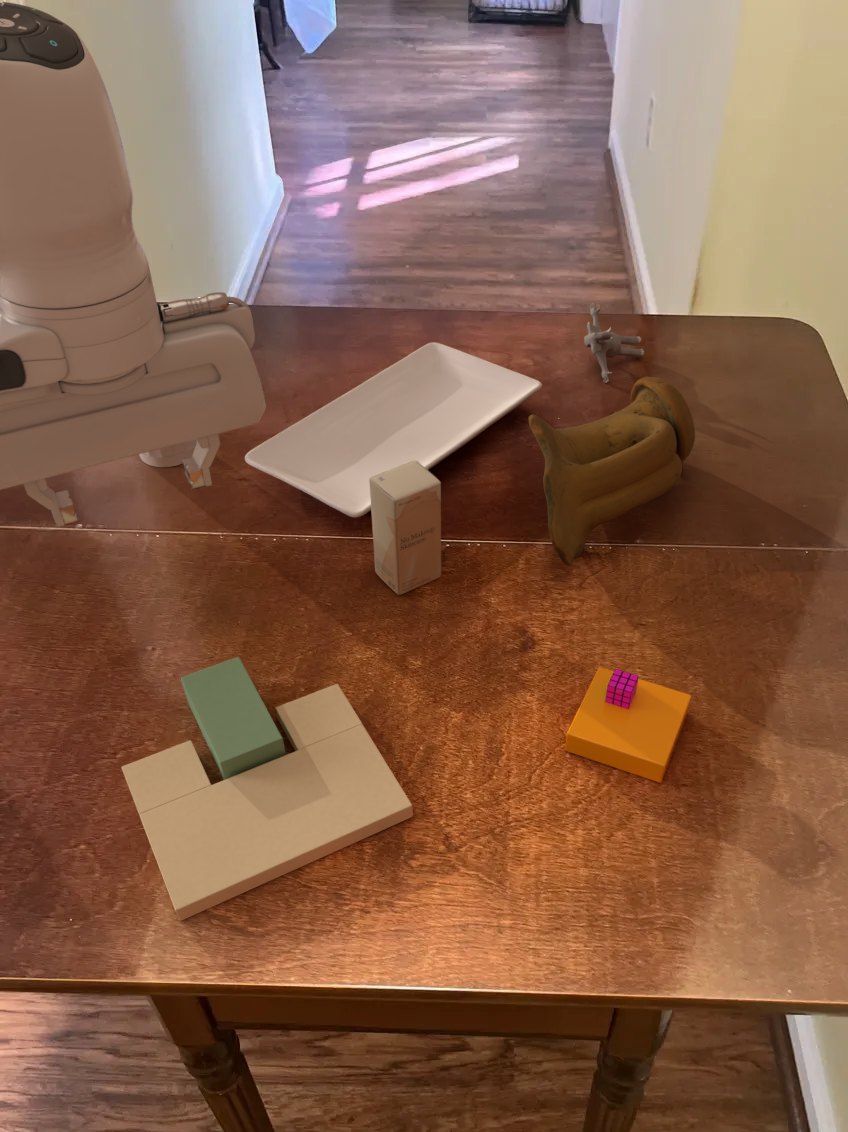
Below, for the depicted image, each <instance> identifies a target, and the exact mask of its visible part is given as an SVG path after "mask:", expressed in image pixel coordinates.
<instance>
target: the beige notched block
mask: <svg viewBox="0 0 848 1132" xmlns="http://www.w3.org/2000/svg"><path fill="white" fill-rule="evenodd" d="M275 713H276V717H277V720H278V722H279V724H280V726H281V728H282V730H283V731H284V734H285V735H286V738H287V739H288V741H289V743H290V745H291V747H292V749H293V750H294V751H293V752H291V753H287V754H286V755H285V756H283V757H280V758H278V759H275V760H273V761H270V762H268V763H265V764H263V765H260V766H258V767H255V768H253V769H251V770H248V771H246V772H243V773H241V774H238V775H236V776H233V777H231V778H228V779H226V780H224V779H223V780H221V781H219V782H216V783H213V784H212V783H211V781H210V779H209V777H208V775H207V772H206V770H205V768H204V766H203V763H202V761H201V759H200V756H199V754H198V752H197V749H196V748H195V745H194V743H193V741H192V740H191V739H190V740H187V741H184V742H182V743H179V744H177V745H174V746H171V747H169V748H167V749H164V750H161V751H158V752H156V753H153V754H151V755H148V756H146V757H143V758H141V759H138V760H135V761H132V762H130V763H127V764H124V765H122V766H121V771H122V773H123V775H124V778H125V781H126V784H127V786H128V790H129V792H130V794H131V797H132V800H133V803H134V805H135V808H136V810H137V813H138V815H139V819H140V821H141V823H142V826H143V829H144V832H145V834H146V836H147V839H148V842H149V845H150V848H151V850H152V853H153V855H154V858H155V860H156V863H157V866H158V868H159V871H160V874H161V876H162V877H161V878H162V879H163V883H164V885H165V887H166V889H167V892H168V895H169V898H170V900H171V903H172V907H173V909H174V911H175V913H176V916H177V918H178V921H179V922H182V921H184V920H186V919H189V918H191V917H193V916H195V915H197V914H199V913H202V912H204V911H207V910H209V909H211V908H213V907H215V906H217V905H219V904H222V903H224V902H227V901H229V900H231V899H233V898H235V897H238V896H240V895H242V894H244V893H247V892H249V891H251V890H254V889H255V888H257V887H260V886H262V885H264V884H266V883H268V882H272V881H273V880H275V879H278V878H279V877H282V876H284V875H286V874H289V873H291V872H293V871H295V870H297V869H300V868H302V867H304V866H307V865H308V864H310V863H313V862H315V861H318V860H320V859H322V858H324V857H326V856H328V855H330V854H333V853H335V852H337V851H339V850H342V849H344V848H346V847H348V846H351V845H353V844H356V843H358V842H359V841H360V842H361V841H362V840H364V839H367V838H368V837H370V836H373V835H376V834H377V833H380V832H382V831H384V830H387V829H389V828H391V827H393V826H395V825H398V824H399V823H402V822H405V821H407V820H408V819H409V820H410V819H411V818H413V817H414V811H413V809H414V808H413V804H412V802H411V801H410V799H409V796H407V794H406V793H405V791H404V789H403V787H402V786H401V784H400V782H399V781H398V780H397V778H396V776H395V775H394V773H393V771H392V770H391V768H390V767H389V764H388V763H387V762H386V760H385V758H384V756H383V755H382V753H381V752H380V751H379V748H378V746H377V745H376V744H375V742H374V741H373V739H372V737H371V735H370V734H369V732H368V731H367V729H366V727H365V726H364V724H363V722H362V721H361V720H360V718H359V716H358V714H357V713H356V711H355V710H354V708H353V706H352V704H351V703H350V701H349V700H348V698H347V696H346V695H345V693H344V692H343V689H342V688H341V687H340V685H339V683H336V684H333V685H329V686H328V687H325V688H322V689H319V690H317V691H315V692H312V693H309V694H307V695H304V696H302V697H299V698H296V699H293V700H291V701H288V702H286V703H283V704H281V705H278V706H276V707H275Z"/></svg>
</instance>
